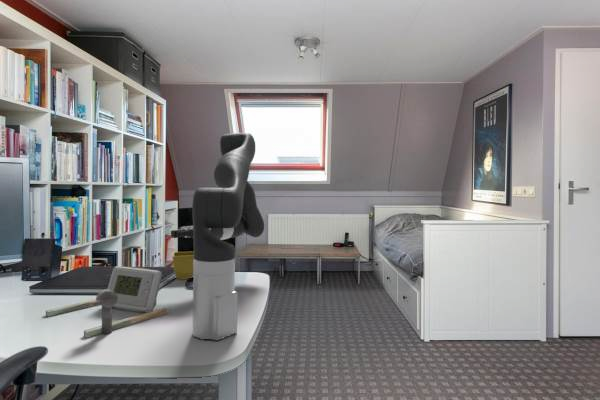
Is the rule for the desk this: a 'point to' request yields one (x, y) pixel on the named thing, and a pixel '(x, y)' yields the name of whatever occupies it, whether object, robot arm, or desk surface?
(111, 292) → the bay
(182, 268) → the flower pot
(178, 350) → the desk surface
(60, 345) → the desk surface
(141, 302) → the digital clock
